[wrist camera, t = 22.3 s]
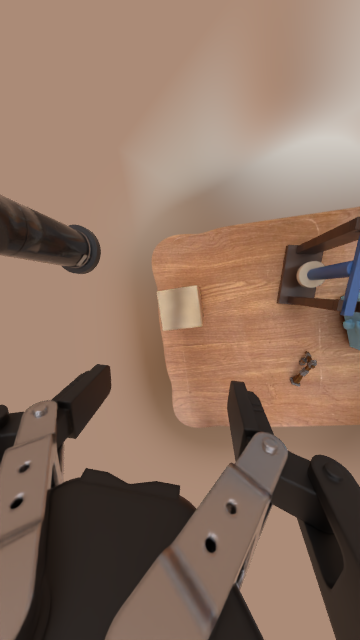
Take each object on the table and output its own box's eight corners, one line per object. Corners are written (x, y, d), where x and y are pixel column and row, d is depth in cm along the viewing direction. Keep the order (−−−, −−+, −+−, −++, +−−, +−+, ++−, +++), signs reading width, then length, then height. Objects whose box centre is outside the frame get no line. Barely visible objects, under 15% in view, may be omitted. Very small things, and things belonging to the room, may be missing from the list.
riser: (175, 319, 46) (162, 331, 32) (171, 291, 45) (156, 291, 31) (203, 315, 45) (202, 326, 31) (199, 286, 44) (196, 285, 30)
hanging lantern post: (313, 350, 42) (321, 364, 38) (294, 372, 46) (299, 387, 42) (305, 347, 42) (312, 362, 38) (287, 370, 46) (292, 384, 43)
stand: (276, 302, 42) (323, 311, 25) (286, 246, 40) (343, 214, 23) (309, 305, 41) (379, 316, 24) (321, 247, 39) (406, 216, 22)
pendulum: (290, 306, 37) (328, 314, 25) (303, 239, 35) (352, 213, 23) (316, 309, 37) (368, 318, 25) (331, 240, 34) (396, 214, 23)
